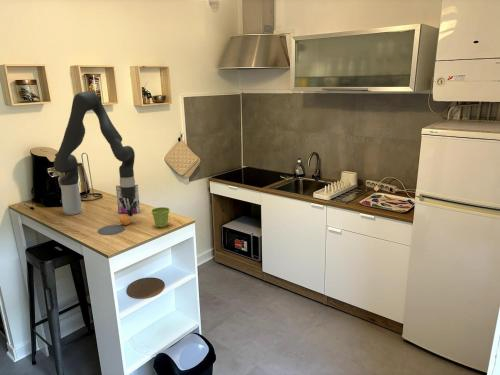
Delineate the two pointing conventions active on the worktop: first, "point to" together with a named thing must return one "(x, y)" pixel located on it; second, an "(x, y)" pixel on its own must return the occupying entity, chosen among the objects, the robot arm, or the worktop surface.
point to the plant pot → (160, 216)
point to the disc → (111, 230)
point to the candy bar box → (120, 206)
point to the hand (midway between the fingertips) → (130, 216)
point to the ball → (125, 219)
